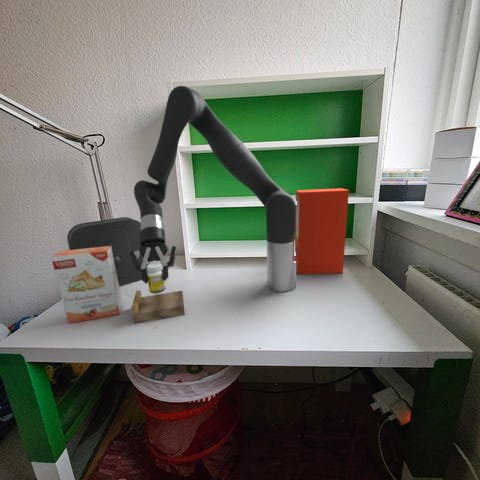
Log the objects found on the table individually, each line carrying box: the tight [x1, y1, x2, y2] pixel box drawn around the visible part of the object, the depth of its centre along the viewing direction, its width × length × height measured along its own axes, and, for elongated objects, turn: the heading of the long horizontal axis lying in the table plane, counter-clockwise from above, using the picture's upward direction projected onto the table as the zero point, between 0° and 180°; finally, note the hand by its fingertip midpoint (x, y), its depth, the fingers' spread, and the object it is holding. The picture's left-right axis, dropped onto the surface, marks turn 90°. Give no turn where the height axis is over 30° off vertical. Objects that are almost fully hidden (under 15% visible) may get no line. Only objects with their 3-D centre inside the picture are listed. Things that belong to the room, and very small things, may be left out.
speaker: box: [66, 216, 151, 288], centre depth 94 cm, size 25×9×25 cm, turn 129°
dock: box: [131, 290, 186, 324], centre depth 76 cm, size 14×10×5 cm
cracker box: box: [50, 246, 123, 324], centre depth 74 cm, size 14×6×21 cm, turn 105°
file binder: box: [294, 188, 350, 275], centre depth 97 cm, size 8×17×32 cm, turn 88°
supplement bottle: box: [147, 262, 167, 295], centre depth 74 cm, size 5×5×8 cm
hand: (155, 280), depth 73 cm, fingers closed on supplement bottle, 4 cm apart
